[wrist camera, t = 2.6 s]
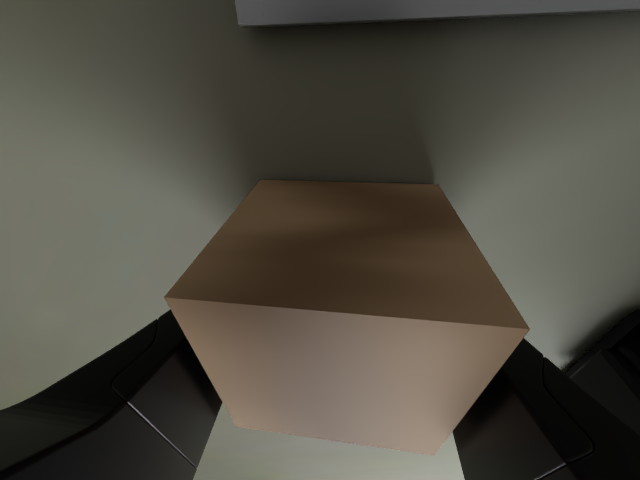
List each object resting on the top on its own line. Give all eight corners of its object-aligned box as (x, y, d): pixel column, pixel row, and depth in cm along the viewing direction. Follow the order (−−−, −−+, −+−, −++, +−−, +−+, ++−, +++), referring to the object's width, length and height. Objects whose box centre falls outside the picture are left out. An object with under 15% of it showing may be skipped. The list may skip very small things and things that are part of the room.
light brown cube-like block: (437, 184, 8) (530, 329, 3) (405, 306, 11) (434, 455, 7) (260, 179, 8) (164, 297, 4) (279, 296, 11) (236, 426, 7)
